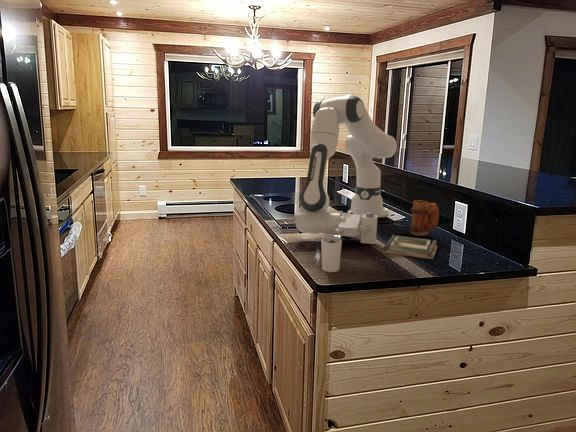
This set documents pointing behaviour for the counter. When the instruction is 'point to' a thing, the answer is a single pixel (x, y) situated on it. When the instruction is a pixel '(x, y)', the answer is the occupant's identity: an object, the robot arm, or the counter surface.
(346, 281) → the counter surface
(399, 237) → the tray
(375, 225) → the white capped container
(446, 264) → the counter surface
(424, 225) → the orange brown rounded block
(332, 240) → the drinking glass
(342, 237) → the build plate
